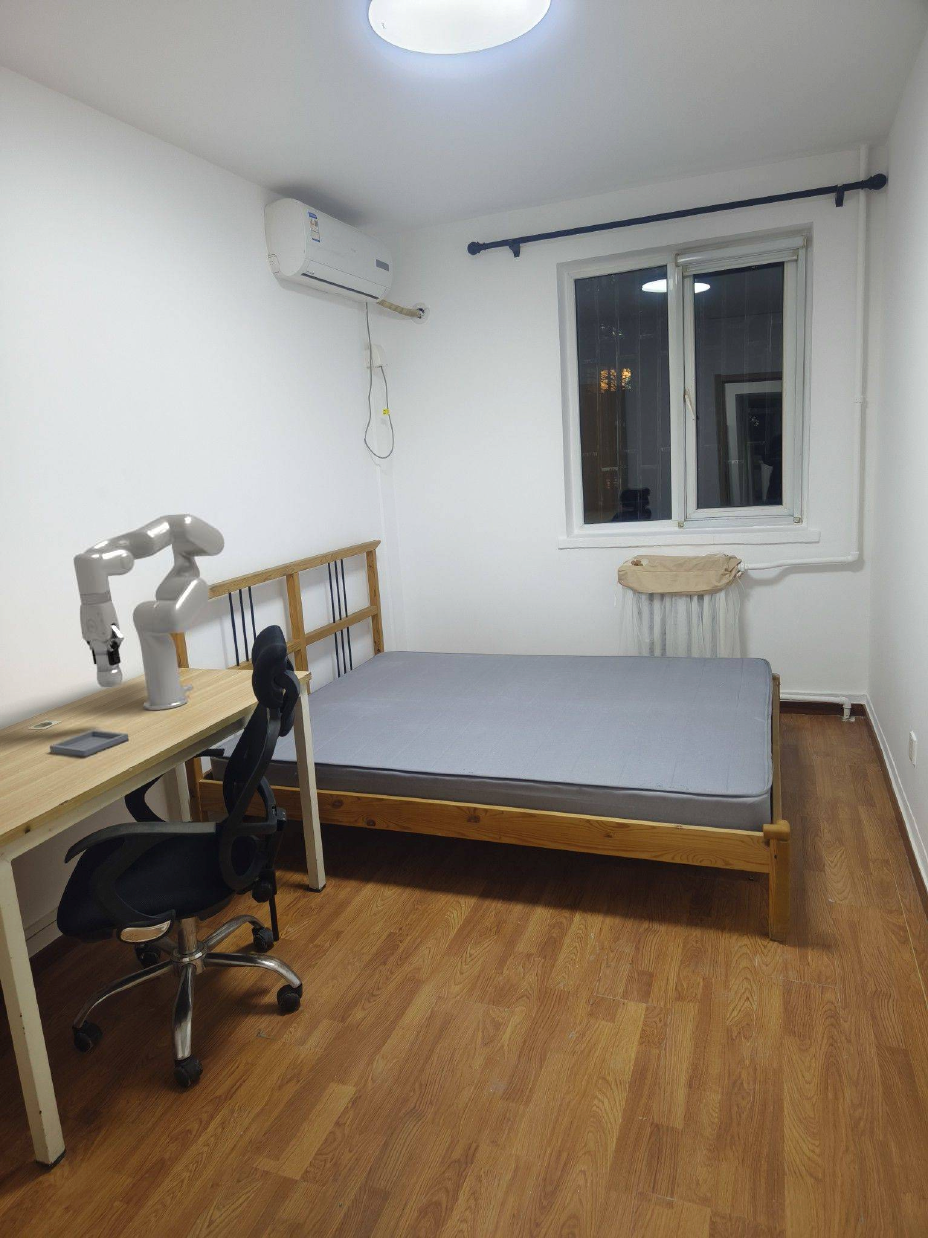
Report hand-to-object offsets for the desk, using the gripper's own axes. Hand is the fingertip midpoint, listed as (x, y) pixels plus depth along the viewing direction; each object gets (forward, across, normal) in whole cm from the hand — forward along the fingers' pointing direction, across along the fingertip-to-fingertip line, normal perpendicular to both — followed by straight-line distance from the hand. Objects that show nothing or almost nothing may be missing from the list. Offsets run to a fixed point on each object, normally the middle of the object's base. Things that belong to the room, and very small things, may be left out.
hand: (107, 663), depth 215 cm
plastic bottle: (+7, 0, 0) cm, 7 cm away
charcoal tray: (+18, +8, -15) cm, 24 cm away
